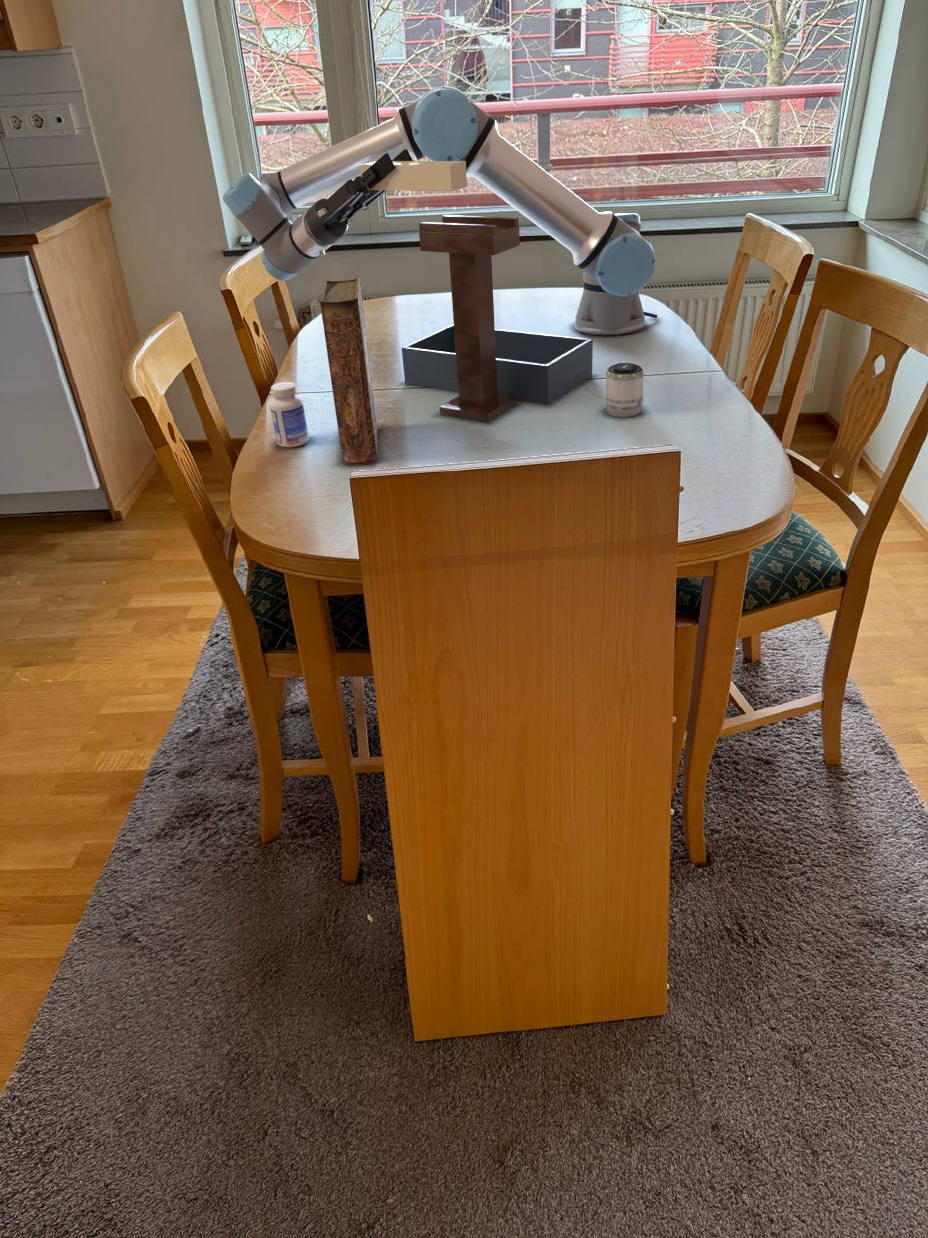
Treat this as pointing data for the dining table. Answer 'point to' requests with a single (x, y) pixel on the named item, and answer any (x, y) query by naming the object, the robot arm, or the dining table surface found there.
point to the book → (350, 370)
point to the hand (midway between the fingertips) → (399, 158)
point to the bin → (506, 363)
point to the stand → (473, 307)
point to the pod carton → (423, 176)
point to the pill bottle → (288, 415)
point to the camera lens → (624, 389)
